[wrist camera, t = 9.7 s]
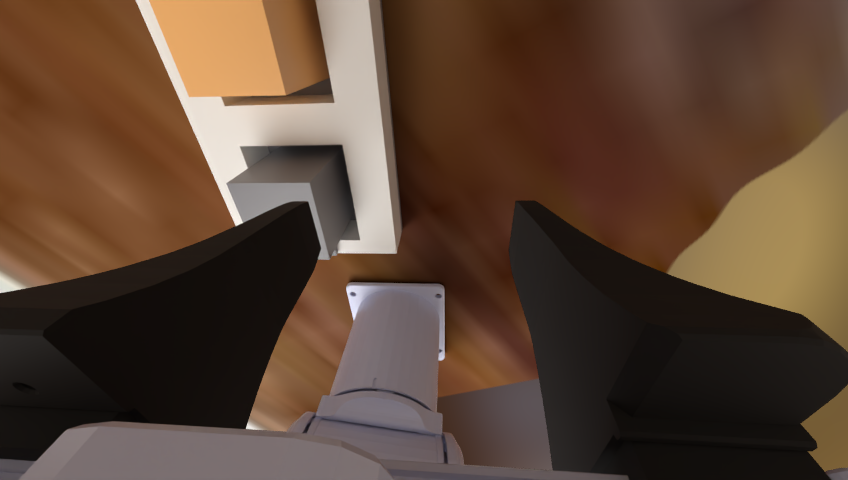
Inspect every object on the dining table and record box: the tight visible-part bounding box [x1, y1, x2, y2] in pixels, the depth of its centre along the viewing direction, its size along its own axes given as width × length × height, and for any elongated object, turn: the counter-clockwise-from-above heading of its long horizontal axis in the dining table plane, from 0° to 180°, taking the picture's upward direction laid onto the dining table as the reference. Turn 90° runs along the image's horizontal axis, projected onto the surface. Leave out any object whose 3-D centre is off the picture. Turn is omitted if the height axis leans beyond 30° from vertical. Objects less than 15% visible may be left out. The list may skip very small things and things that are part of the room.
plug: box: [149, 0, 330, 97], centre depth 13 cm, size 4×4×6 cm
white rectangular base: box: [136, 0, 403, 260], centre depth 16 cm, size 16×10×6 cm, turn 2°
